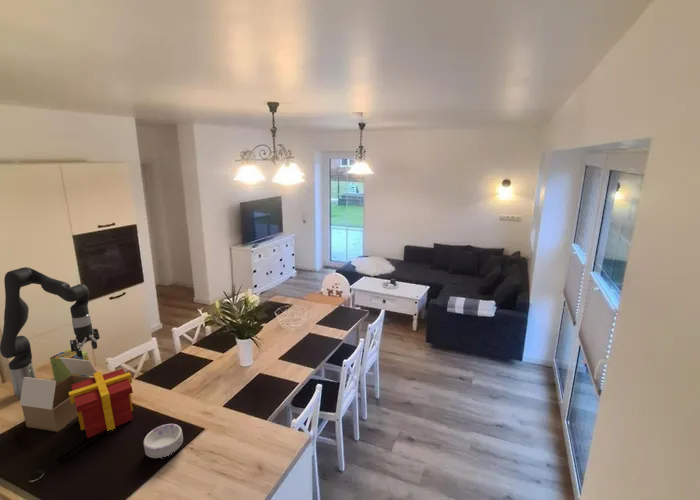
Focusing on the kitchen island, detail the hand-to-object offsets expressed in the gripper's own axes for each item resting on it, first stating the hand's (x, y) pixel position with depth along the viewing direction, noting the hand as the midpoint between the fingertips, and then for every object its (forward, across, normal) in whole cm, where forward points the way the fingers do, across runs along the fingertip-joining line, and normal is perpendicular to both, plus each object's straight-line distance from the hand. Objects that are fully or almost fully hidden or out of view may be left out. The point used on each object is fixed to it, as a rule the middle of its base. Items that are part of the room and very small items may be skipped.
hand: (87, 352), depth 187 cm
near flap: (+11, +20, -9) cm, 24 cm away
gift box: (+30, +10, +16) cm, 35 cm away
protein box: (+30, -17, -33) cm, 47 cm away
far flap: (+11, -2, -9) cm, 14 cm away
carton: (+29, +9, -9) cm, 32 cm away
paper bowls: (+30, +23, +58) cm, 69 cm away
